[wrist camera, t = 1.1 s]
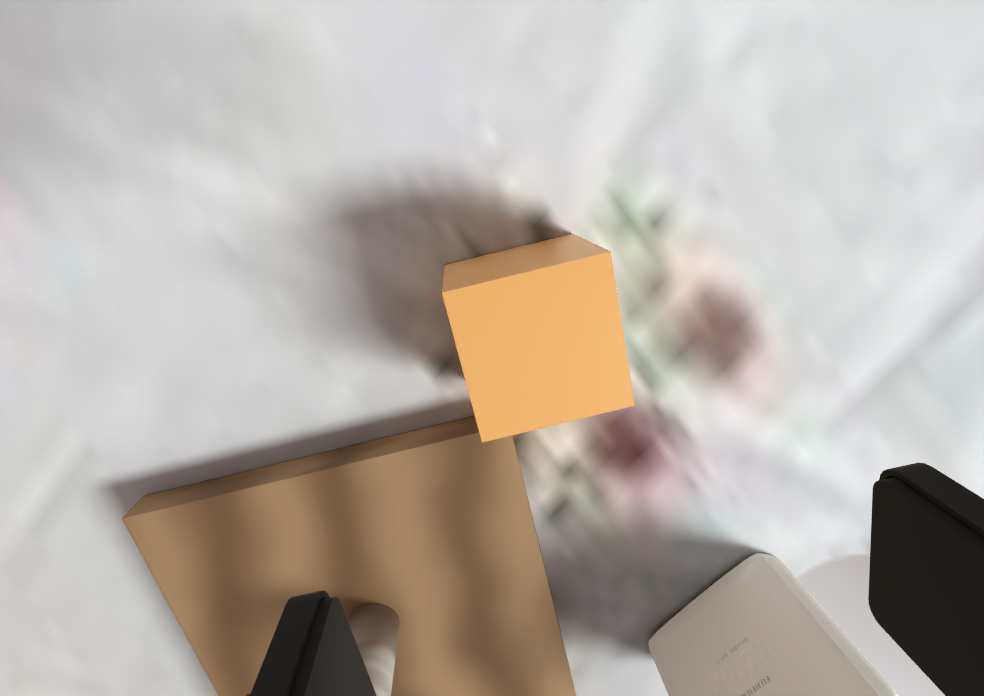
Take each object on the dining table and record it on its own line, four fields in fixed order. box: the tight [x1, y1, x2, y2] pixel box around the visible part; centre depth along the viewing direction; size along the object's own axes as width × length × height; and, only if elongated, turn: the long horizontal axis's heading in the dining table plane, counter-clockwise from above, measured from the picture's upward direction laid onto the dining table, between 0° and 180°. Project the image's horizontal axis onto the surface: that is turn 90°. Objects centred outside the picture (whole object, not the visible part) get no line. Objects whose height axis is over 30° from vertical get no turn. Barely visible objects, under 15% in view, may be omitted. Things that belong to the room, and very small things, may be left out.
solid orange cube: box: [442, 234, 635, 442], centre depth 23 cm, size 6×6×6 cm
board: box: [122, 416, 576, 696], centre depth 28 cm, size 20×20×7 cm
